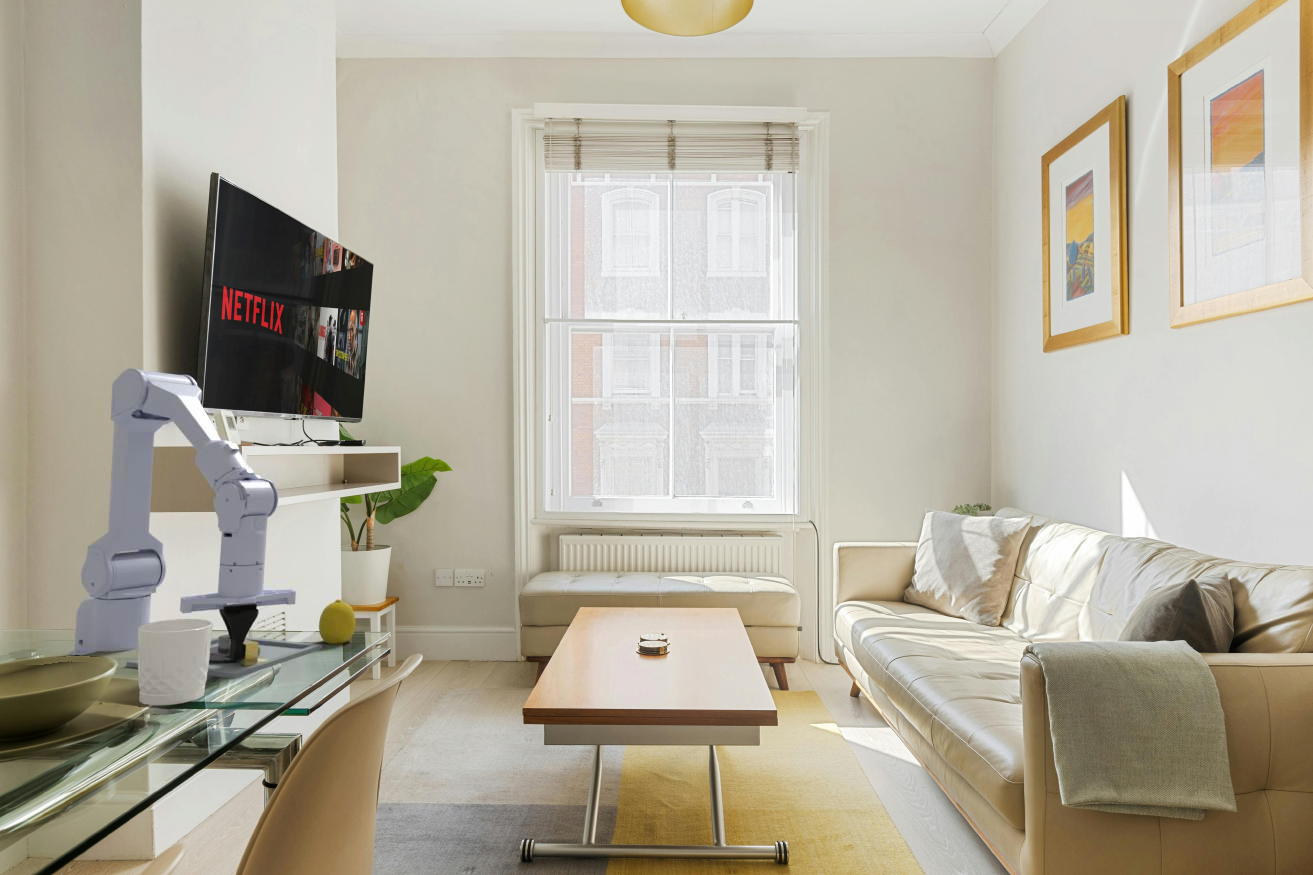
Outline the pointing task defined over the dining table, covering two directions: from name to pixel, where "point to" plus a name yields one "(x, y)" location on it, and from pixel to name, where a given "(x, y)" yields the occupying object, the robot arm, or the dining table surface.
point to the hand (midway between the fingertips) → (236, 658)
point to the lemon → (337, 623)
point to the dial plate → (268, 656)
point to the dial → (223, 651)
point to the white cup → (173, 662)
